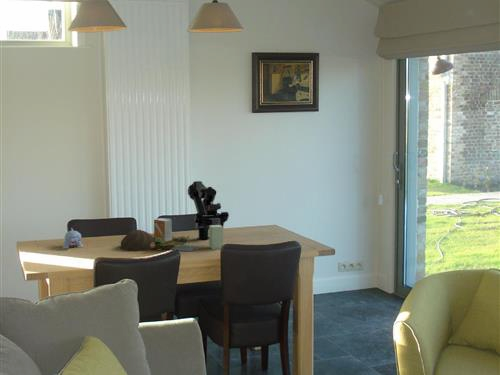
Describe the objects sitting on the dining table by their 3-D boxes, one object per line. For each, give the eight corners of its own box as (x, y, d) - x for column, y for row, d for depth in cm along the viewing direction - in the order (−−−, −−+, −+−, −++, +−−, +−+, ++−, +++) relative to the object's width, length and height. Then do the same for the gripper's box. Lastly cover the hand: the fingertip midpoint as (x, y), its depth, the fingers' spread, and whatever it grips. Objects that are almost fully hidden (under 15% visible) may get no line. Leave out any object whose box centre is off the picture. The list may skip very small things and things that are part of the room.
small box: (153, 242, 414) (153, 219, 412) (161, 240, 419) (161, 217, 417) (164, 243, 409) (164, 220, 408) (172, 241, 415) (171, 219, 413)
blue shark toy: (63, 250, 391) (63, 232, 389) (61, 244, 405) (61, 227, 403) (84, 249, 394) (84, 231, 393) (81, 243, 408) (81, 226, 407)
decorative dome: (116, 245, 404) (116, 227, 403) (151, 243, 412) (151, 225, 410) (124, 252, 387) (123, 234, 385) (160, 249, 394) (160, 231, 393)
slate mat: (176, 246, 403) (176, 244, 403) (197, 247, 401) (197, 245, 401) (170, 250, 392) (170, 249, 391) (191, 251, 389) (191, 250, 389)
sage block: (209, 246, 402) (209, 225, 400) (219, 246, 404) (219, 224, 402) (212, 249, 396) (212, 227, 395) (222, 248, 398) (222, 226, 397)
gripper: (195, 198, 401) (201, 221, 392) (227, 197, 407) (234, 220, 398) (191, 211, 409) (197, 233, 400) (223, 209, 415) (229, 232, 406)
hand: (214, 229), depth 401 cm, fingers open, 9 cm apart
